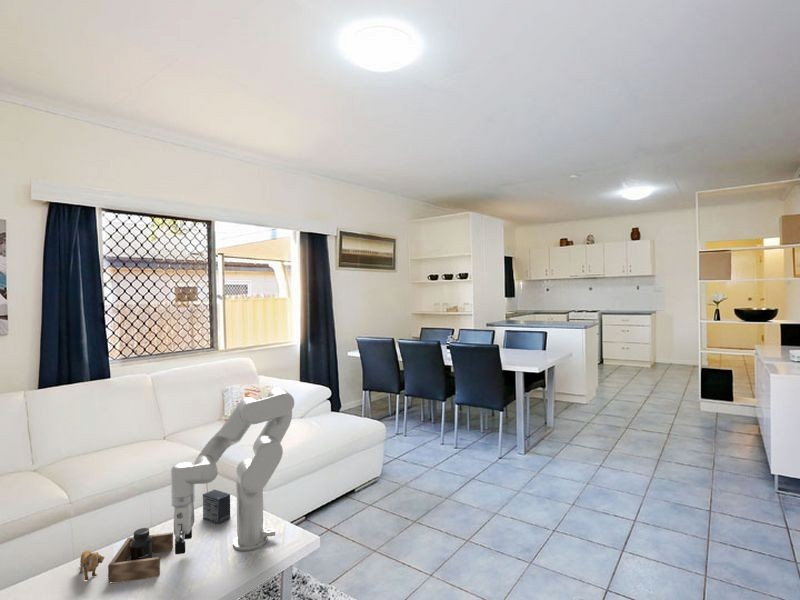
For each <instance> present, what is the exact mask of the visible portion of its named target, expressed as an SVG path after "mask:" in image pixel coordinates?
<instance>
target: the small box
mask: <svg viewBox="0 0 800 600" xmlns="http://www.w3.org/2000/svg"><path fill="white" fill-rule="evenodd" d="M229 518H230V519H231V493H227V492H224V491H221V490H217V489H212V490H210V491H208V492H205V493H203V494H202V519H203V520H206V521H208V522H211V521H212V522H211V523H214V522H215V523H214V524H216V523H217V525H220V524H221V523H224V522H226V521H227V519H228V520H230V519H229ZM225 520H226V521H225ZM223 521H224V522H223Z"/></svg>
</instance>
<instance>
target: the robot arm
mask: <svg viewBox="0 0 800 600" xmlns="http://www.w3.org/2000/svg"><path fill="white" fill-rule="evenodd" d="M294 407H295V399H294V397H293V396H292V394H291V393H290V392H288V391H287V390H286V389H284V388H281V387H274V388H272V389H271V390H270V391H269V392H268V394H267V397H265V398H262V399H257V398H255V397H252V396H247V397H244V398H243V399H241V400H240V401H239V403H238V404H237V405H236V407H235V408H234V410H233V411H232V412H231V413H230V415H229V417H228V418H227V419H226V421H225V422H224V423H223V425H222V426H221V428H220V429H219V431H217V432H216V433H215V434H214V436H212V437H211V439H209V441H207V443H206V444H205V445H204V447H203V449H202V450H201V451H200V453H199V454H198V455H197V457H196V458H195V461H194V463H193V462H191V461H182V462H178V463H176V464H174V465H173V466H172V467H171V470H170V471H171V472H170V473H171V474H170V478H171V479H170V481H171V482H170V484H171V487H170V488H171V495H170V496H171V498H170V499H171V500H170V501H171V507H173V536H174V537H175V538H174V554H175V555H183V554H185V553H186V541H185V540H192V537H193V526H194V524H195V505H194V503H195V501H196V499H195V498H196V495H195V493H196V490H195V485H205V484H210V483H213V481H215V480H216V478H217V477H218V473H219V472H218V471H219V469H218V466H217V463H218V462H219V460H220V458H221V457H222V456H223V455H224V453H225V452H226V451H227V449H229V448H230V447H232V446H234V445H236V444H238V443H239V442H240V441H241V440H242V439H243V437H244V436H245V434H246V433H247V431H248V430H249V428H250V427H251V425H257V424H260V423H264V422H265V423H266V424H265V425H264V427H263V428H262V430H261V431H260V433H259V435H258V436H257V438H256V439H255V441H254V443H253V446H252V450H253V453H254V457H248V458H244V459H243V460H241V461H240V462H239V463H238V464H237V467H236V469H235V475H234V477H235V486H236V527H237V528H236V531H237V534H236V537H235V538H234V539H233V542H232V546H233V548H234V549H235V550H237V551H242V552H243V551H244V552H245V551H247V550H248V551H253V550H257V549H259V548H261V547H263V546H264V545H265V544H266V543H267V542H268V540H269V539H268V537H275V536H276V530H273V527H272V528H266V527H265V526H266V525H265V524H264V492H263V491H264V490H263V489H264V488H265V487H266V486H267V484H268V483H269V481H270V479H271V477H273V474H274V472H276V469H277V468H278V466H279V464H280V462H281V460H282V458H283V454H284V453H283V452H284V451H283V446H282V444H281V442H282V441H283V438H284V437H285V435H286V433H287V431H288V429H289V427H290V426H291V422H292V419H293V408H294ZM267 539H268V540H267ZM266 541H267V542H266ZM265 542H266V543H265ZM264 543H265V544H264ZM263 544H264V545H263ZM260 546H261V547H260ZM258 547H259V548H258ZM256 548H257V549H256Z"/></svg>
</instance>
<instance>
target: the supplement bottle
mask: <svg viewBox="0 0 800 600" xmlns="http://www.w3.org/2000/svg"><path fill="white" fill-rule="evenodd" d="M149 535H150V529H149V528H148V527H142V528H138V529H136V530H134V532H133V535H132V537H133V540H132V541H131V544H130V557H129V561H132V560H140V559H147V558H153V553H152V544H153V540H152V537H151V536H149Z"/></svg>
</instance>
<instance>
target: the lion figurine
mask: <svg viewBox="0 0 800 600" xmlns="http://www.w3.org/2000/svg"><path fill="white" fill-rule="evenodd" d="M104 559H105V556H102V555H101V554H99V552H98V551H95V552H92V551H91V550H85V551H83V552H82V554H81V555H80V562H79V563H80V564H79V566H80V569H79V572H78V574H79V573H81V574H83V575H84V579H83V581H84V580H88V581H89V576H88V573H91V577H93V576H96V577H97V576H98V574H97V573H96V569H97V567H99V564H103V561H104Z"/></svg>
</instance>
